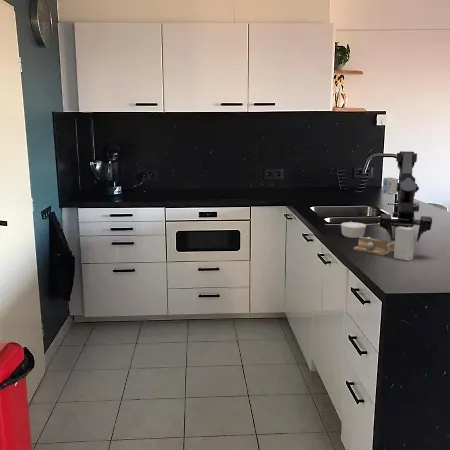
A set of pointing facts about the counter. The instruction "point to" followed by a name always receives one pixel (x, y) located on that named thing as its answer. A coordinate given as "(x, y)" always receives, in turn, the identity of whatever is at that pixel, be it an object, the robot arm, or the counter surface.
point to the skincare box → (404, 243)
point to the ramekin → (353, 229)
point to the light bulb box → (390, 185)
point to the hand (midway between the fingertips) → (404, 240)
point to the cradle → (374, 246)
